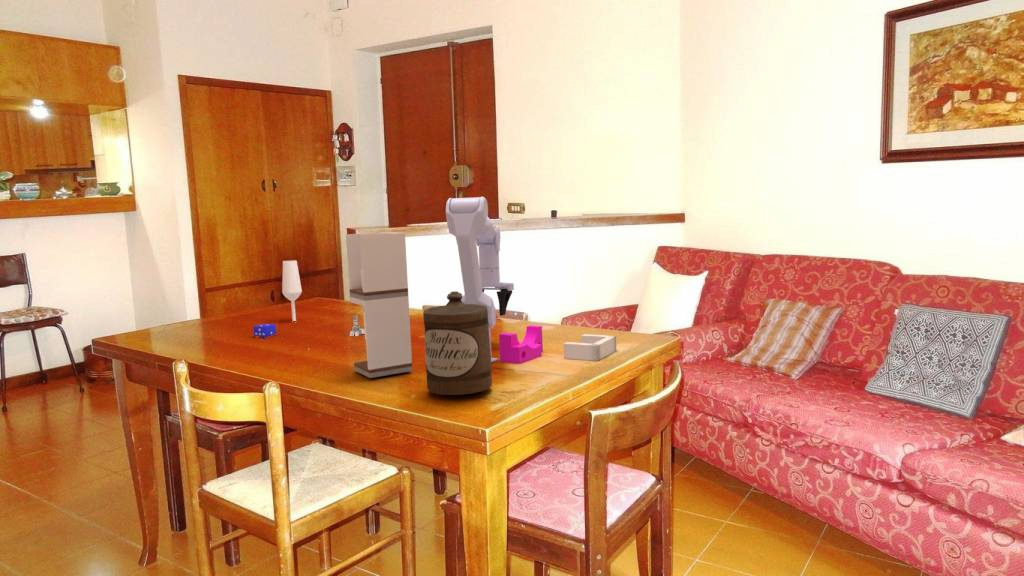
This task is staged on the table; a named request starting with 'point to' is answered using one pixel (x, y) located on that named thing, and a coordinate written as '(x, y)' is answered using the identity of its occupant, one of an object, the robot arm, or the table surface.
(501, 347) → the toy block
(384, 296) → the grey stacked tower
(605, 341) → the block holder
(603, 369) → the table surface
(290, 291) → the champagne flute
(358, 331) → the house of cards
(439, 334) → the wooden container
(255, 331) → the die
